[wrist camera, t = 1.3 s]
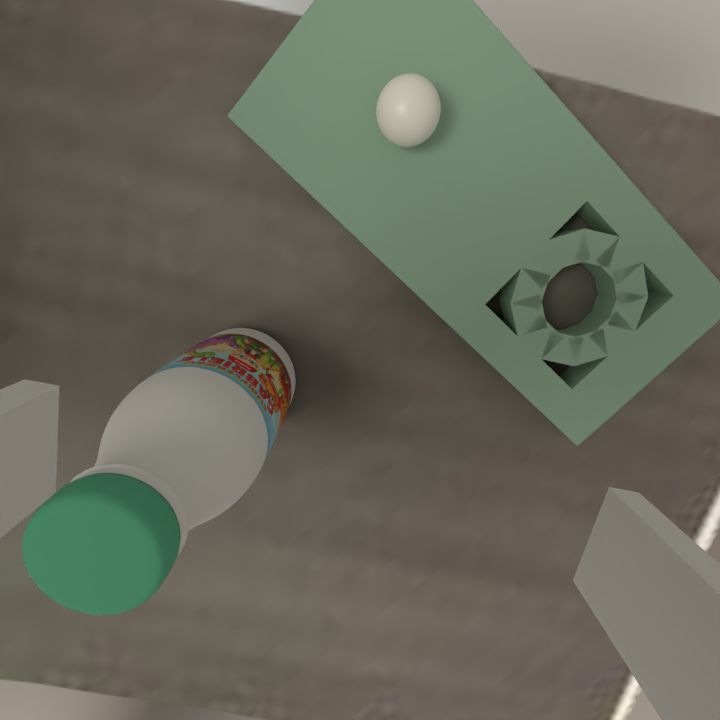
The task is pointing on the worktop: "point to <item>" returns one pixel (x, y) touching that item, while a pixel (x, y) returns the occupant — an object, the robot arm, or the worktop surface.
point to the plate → (483, 199)
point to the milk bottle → (161, 472)
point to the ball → (408, 110)
